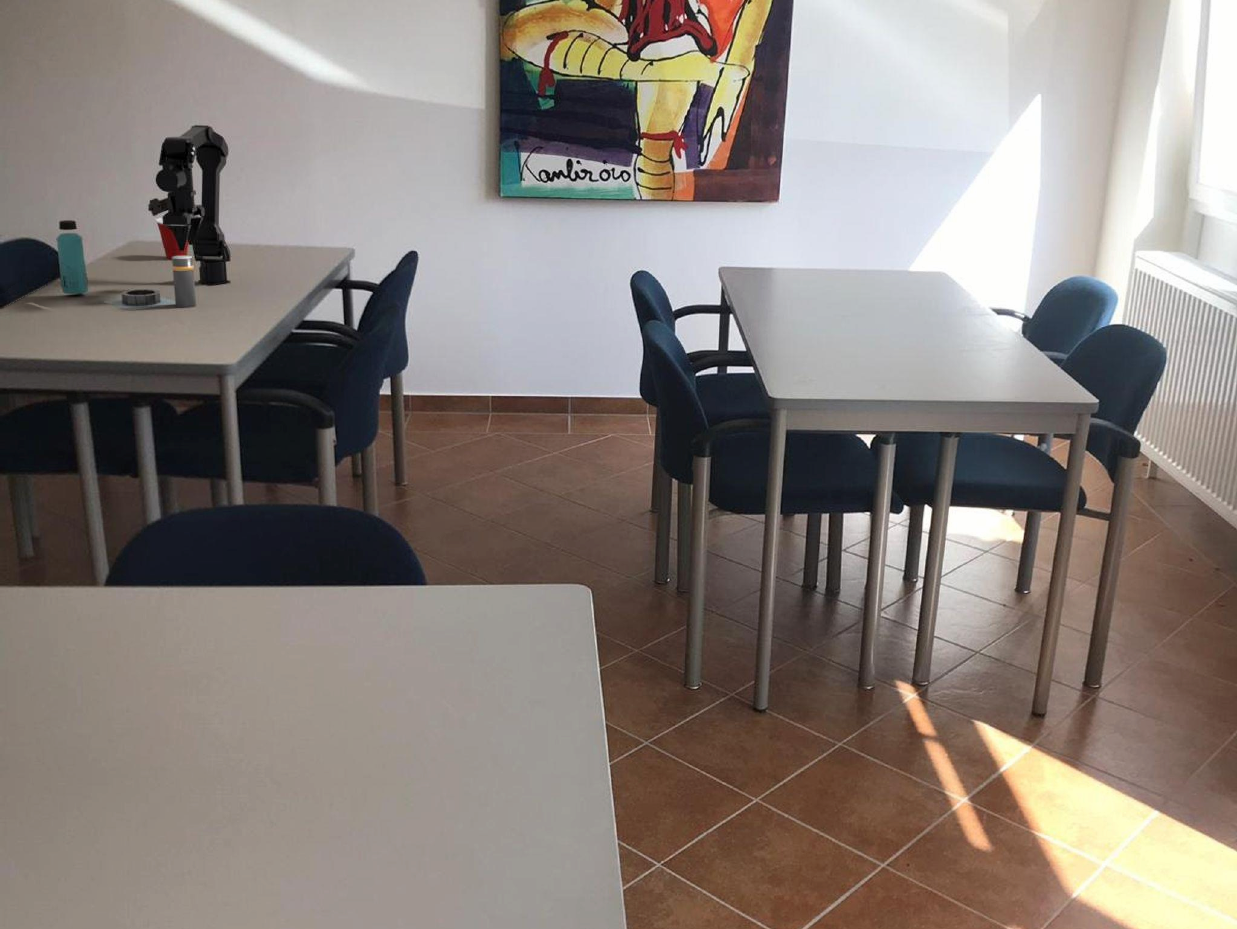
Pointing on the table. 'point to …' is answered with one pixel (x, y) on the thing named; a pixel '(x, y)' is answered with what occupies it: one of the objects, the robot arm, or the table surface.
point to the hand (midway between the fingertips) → (186, 247)
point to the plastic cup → (170, 241)
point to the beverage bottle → (71, 260)
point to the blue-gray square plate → (119, 304)
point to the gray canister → (184, 281)
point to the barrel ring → (141, 297)
